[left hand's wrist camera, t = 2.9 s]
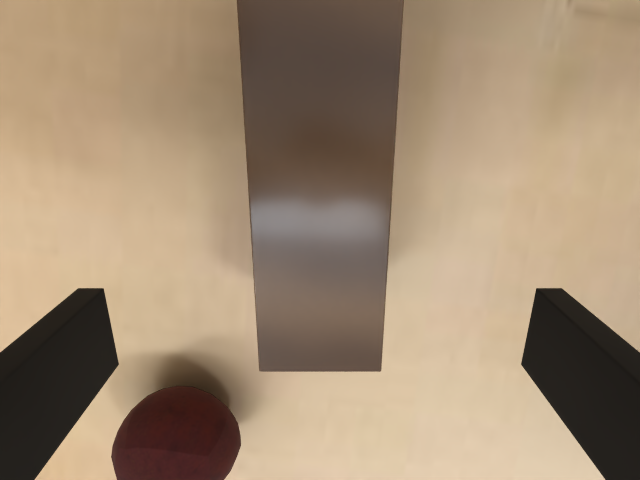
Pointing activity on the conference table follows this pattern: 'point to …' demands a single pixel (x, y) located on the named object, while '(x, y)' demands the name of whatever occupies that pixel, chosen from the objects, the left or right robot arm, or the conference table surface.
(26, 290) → the conference table surface
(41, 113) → the conference table surface
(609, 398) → the left robot arm
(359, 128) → the post
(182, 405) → the dark red ball
